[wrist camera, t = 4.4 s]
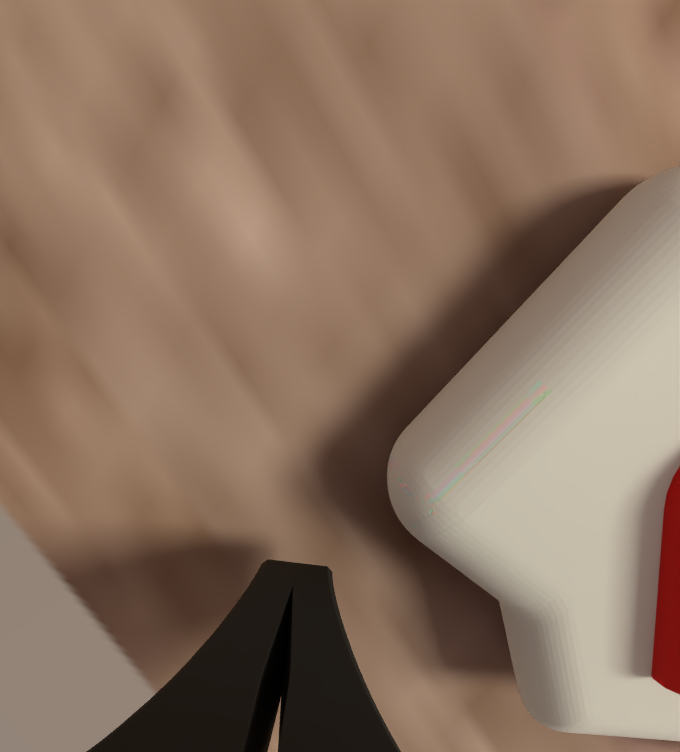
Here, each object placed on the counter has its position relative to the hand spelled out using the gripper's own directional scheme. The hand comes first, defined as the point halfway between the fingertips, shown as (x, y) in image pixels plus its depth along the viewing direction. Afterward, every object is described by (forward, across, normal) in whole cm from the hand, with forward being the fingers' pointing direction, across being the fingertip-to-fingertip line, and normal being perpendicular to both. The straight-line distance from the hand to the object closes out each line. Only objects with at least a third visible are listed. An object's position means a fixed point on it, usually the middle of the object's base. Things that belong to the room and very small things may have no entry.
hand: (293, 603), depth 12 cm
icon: (+2, -8, -2) cm, 8 cm away
